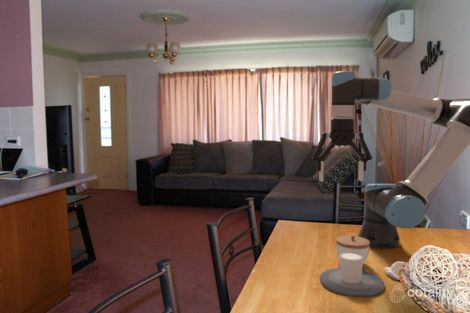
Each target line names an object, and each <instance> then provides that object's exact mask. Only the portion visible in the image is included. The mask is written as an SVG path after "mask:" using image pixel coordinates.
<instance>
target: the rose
mask: <svg viewBox="0 0 470 313" xmlns="http://www.w3.org/2000/svg"><path fill="white" fill-rule="evenodd" d="M405 263H407V262H405V261H402V260H401V261H399V260H397V261H395V262H394V263H393V264H391V265H390V267H389V266H386V267H384V272H385V274H386V275H387V276H388V277H390V276H391V277H390V278H392V279H394V280H395V279H396V281H398V280H399V275H398V272H399V269H400V268H401V267H402V266H403V265H404V264H405Z"/></svg>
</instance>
